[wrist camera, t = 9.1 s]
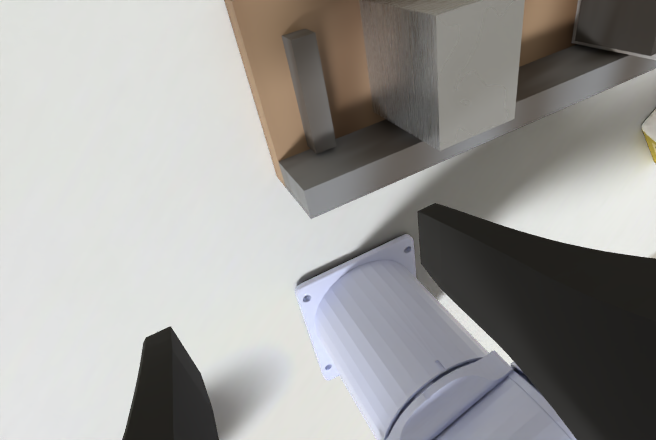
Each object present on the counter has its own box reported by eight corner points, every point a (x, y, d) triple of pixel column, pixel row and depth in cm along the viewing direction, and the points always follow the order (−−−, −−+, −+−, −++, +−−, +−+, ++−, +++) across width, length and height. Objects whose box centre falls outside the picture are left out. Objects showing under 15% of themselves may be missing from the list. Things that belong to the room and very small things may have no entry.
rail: (668, -128, 22) (827, -147, 17) (630, 34, 27) (746, 54, 22) (223, -2, 16) (279, 20, 11) (277, 176, 21) (331, 244, 16)
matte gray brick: (443, 84, 21) (522, 115, 17) (372, 111, 20) (439, 150, 16) (441, -27, 18) (535, -19, 14) (358, -1, 17) (436, 15, 13)
